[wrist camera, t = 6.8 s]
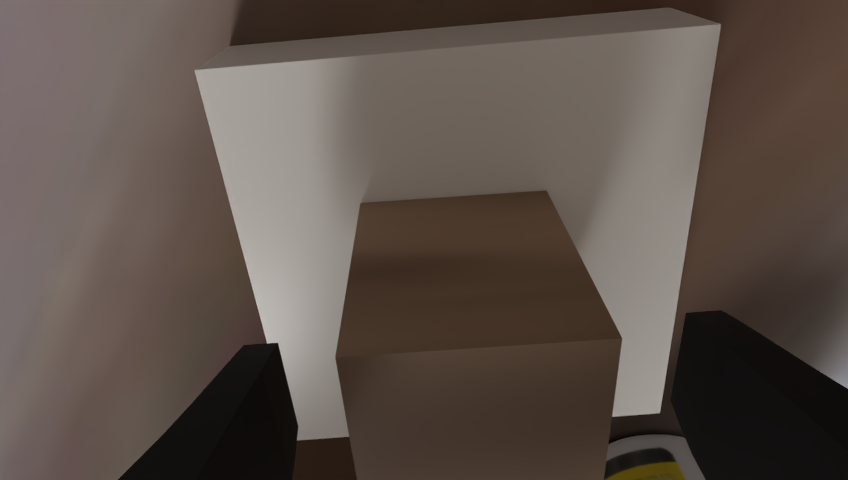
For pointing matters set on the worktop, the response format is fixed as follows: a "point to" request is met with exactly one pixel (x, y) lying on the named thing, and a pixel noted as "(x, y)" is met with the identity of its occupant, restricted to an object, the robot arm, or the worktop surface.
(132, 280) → the worktop surface
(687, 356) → the robot arm
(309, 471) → the worktop surface
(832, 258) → the worktop surface
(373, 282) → the block
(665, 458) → the supplement bottle
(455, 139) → the riser
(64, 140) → the worktop surface
